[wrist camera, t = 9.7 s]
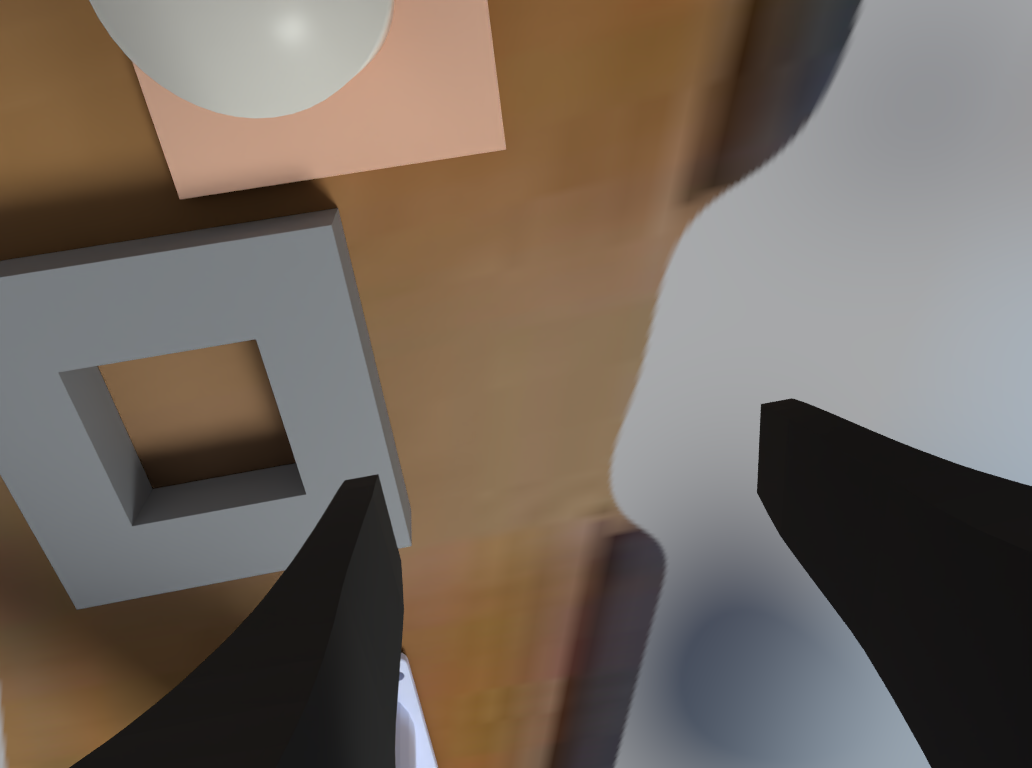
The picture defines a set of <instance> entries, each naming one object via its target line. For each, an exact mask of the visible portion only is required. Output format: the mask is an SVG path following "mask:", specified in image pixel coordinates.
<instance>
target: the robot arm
mask: <svg viewBox="0 0 1032 768" xmlns="http://www.w3.org/2000/svg"><path fill="white" fill-rule="evenodd" d="M757 493H758V495H759V497H760V499H761V501H762V503H763V505H764V507H765V509H766V511H767V513H768V515H769V516H770V518H771V520H772V522H773V523H774V525H775V527H776V529H777V531H778V532H779V534H780V536H781V537H782V538H783V540H784V542H785V543H786V544H787V546H788V547H789V548H790V550H791V551H792V552H793V554H794V555H795V557H796V558H797V559H798V561H799V562H800V564H801V565H802V566H803V568H804V569H805V570H806V572H807V573H808V574H809V576H810V577H811V578H812V580H813V581H814V582H815V584H816V585H817V586H818V588H819V589H820V590H821V592H822V593H823V594H824V596H825V597H826V598H827V600H828V601H829V602H830V604H831V605H832V606H833V608H834V609H835V610H836V612H837V613H838V614H839V616H840V617H841V618H842V620H843V621H844V622H845V624H846V625H847V626H848V628H849V629H850V630H851V632H852V633H853V635H854V636H855V638H856V639H857V640H858V642H859V643H860V645H861V646H862V648H863V649H864V651H865V652H866V654H867V656H868V657H869V659H870V661H871V662H872V664H873V666H874V667H875V669H876V670H877V672H878V674H879V676H880V677H881V679H882V681H883V682H884V684H885V686H886V687H887V689H888V691H889V692H890V694H891V696H892V698H893V699H894V701H895V703H896V705H897V706H898V708H899V710H900V712H901V713H902V715H903V717H904V719H905V721H906V722H907V724H908V726H909V728H910V729H911V731H912V733H913V735H914V737H915V738H916V740H917V742H918V744H919V745H920V747H921V749H922V751H923V753H924V755H925V756H926V758H927V760H928V762H929V764H930V766H931V768H1032V486H1029V485H1025V484H1021V483H1018V482H1014V481H1011V480H1008V479H1004V478H1001V477H997V476H994V475H991V474H987V473H984V472H980V471H977V470H974V469H971V468H968V467H965V466H962V465H959V464H956V463H953V462H951V461H948V460H945V459H942V458H939V457H937V456H934V455H931V454H929V453H926V452H923V451H920V450H918V449H915V448H912V447H910V446H908V445H905V444H903V443H900V442H898V441H895V440H893V439H890V438H888V437H886V436H883V435H881V434H878V433H876V432H873V431H871V430H869V429H867V428H864V427H862V426H860V425H857V424H855V423H853V422H850V421H848V420H846V419H843V418H841V417H839V416H836V415H834V414H831V413H829V412H827V411H824V410H822V409H820V408H817V407H815V406H812V405H810V404H807V403H804V402H802V401H798V400H795V399H787V400H781V401H776V402H770V403H765V404H761V418H760V439H759V463H758V484H757ZM403 615H404V604H403V584H402V568H401V559H400V555H399V551H398V547H397V543H396V540H395V536H394V532H393V528H392V524H391V521H390V517H389V513H388V509H387V505H386V501H385V498H384V494H383V490H382V486H381V482H380V479H379V475H378V474H376V475H371V476H365V477H360V478H355V479H349V480H345V481H344V482H343V483H342V485H341V486H340V487H339V489H338V491H337V492H336V494H335V496H334V497H333V499H332V501H331V502H330V504H329V505H328V507H327V509H326V510H325V512H324V514H323V515H322V517H321V518H320V520H319V522H318V523H317V525H316V526H315V528H314V529H313V531H312V532H311V534H310V535H309V537H308V538H307V540H306V541H305V543H304V544H303V546H302V547H301V549H300V550H299V552H298V553H297V555H296V556H295V558H294V559H293V560H292V562H291V563H290V565H289V566H288V567H287V569H286V570H285V571H284V573H283V574H282V575H281V576H280V578H279V579H278V580H277V582H276V583H275V584H274V586H273V587H272V588H271V590H270V591H269V592H268V594H267V595H266V596H265V597H264V599H263V600H262V601H261V602H260V603H259V605H258V606H257V607H256V608H255V609H254V610H253V612H252V613H251V614H250V615H249V616H248V617H247V618H246V619H245V620H244V621H243V622H242V624H241V625H240V626H239V627H238V628H237V629H236V630H235V631H234V632H233V633H232V634H231V635H230V636H229V637H228V638H227V639H226V640H225V641H224V642H223V643H222V644H221V645H220V646H219V647H218V648H217V649H216V650H215V651H214V652H213V653H212V654H211V655H210V656H209V657H208V658H206V659H205V660H204V661H203V662H202V663H201V664H200V665H199V666H198V667H197V668H196V669H195V670H194V671H193V672H192V673H191V674H189V675H188V676H187V677H186V678H185V679H184V680H183V681H182V682H181V683H180V684H179V685H177V686H176V687H175V688H174V689H173V690H171V691H170V692H169V693H168V694H167V695H166V696H164V697H163V698H162V699H161V700H160V701H158V702H157V703H156V704H155V705H154V706H152V707H151V708H150V709H148V710H147V711H146V712H145V713H143V714H142V715H141V716H140V717H138V718H137V719H136V720H135V721H133V722H132V723H131V724H130V725H128V726H127V727H126V728H124V729H123V730H122V731H120V732H119V733H118V734H116V735H115V736H114V737H112V738H111V739H110V740H108V741H107V742H105V743H104V744H102V745H101V746H100V747H98V748H97V749H95V750H94V751H92V752H91V753H90V754H88V755H87V756H85V757H84V758H82V759H81V760H80V761H78V762H77V763H75V764H74V765H72V766H71V767H70V768H438V765H437V761H436V758H435V754H434V751H433V747H432V744H431V740H430V736H429V733H428V729H427V726H426V722H425V719H424V715H423V711H422V708H421V704H420V701H419V697H418V694H417V690H416V686H415V683H414V679H413V676H412V672H411V669H410V665H409V661H408V658H407V656H406V655H405V654H403V653H401V646H402V631H403Z"/></svg>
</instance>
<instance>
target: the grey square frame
mask: <svg viewBox="0 0 1032 768" xmlns="http://www.w3.org/2000/svg"><path fill="white" fill-rule="evenodd" d="M254 339H256V341H257V344H258V347H259V350H260V353H261V356H262V359H263V362H264V365H265V369H266V372H267V375H268V378H269V381H270V384H271V387H272V390H273V393H274V396H275V399H276V402H277V405H278V409H279V412H280V415H281V418H282V421H283V424H284V427H285V430H286V433H287V436H288V439H289V442H290V445H291V448H292V452H293V455H294V458H295V461H296V463H294V464H289V465H283V466H278V467H272V468H267V469H261V470H256V471H250V472H245V473H239V474H233V475H228V476H222V477H217V478H211V479H206V480H200V481H195V482H189V483H184V484H178V485H172V486H167V487H161V488H156V489H152V487H151V484H150V482H149V480H148V478H147V475H146V473H145V471H144V469H143V467H142V464H141V462H140V460H139V458H138V455H137V453H136V451H135V449H134V447H133V444H132V442H131V440H130V438H129V435H128V433H127V431H126V429H125V427H124V424H123V422H122V420H121V418H120V415H119V413H118V411H117V409H116V407H115V404H114V402H113V400H112V398H111V395H110V393H109V391H108V389H107V387H106V384H105V382H104V380H103V378H102V375H101V373H100V371H99V369H98V367H97V366H99V365H105V364H111V363H117V362H123V361H129V360H135V359H141V358H147V357H153V356H159V355H165V354H171V353H177V352H183V351H188V350H194V349H200V348H206V347H212V346H218V345H224V344H230V343H236V342H242V341H248V340H254ZM376 474H378V475H379V479H380V482H381V486H382V490H383V494H384V498H385V501H386V505H387V509H388V513H389V517H390V521H391V524H392V528H393V532H394V536H395V540H396V543H397V547H398V548H404V547H409V546H412V544H411V508H410V503H409V499H408V495H407V491H406V487H405V483H404V479H403V475H402V470H401V466H400V462H399V458H398V454H397V450H396V446H395V442H394V437H393V433H392V429H391V425H390V421H389V417H388V413H387V409H386V404H385V400H384V396H383V392H382V388H381V384H380V380H379V376H378V371H377V367H376V363H375V359H374V355H373V351H372V347H371V342H370V338H369V334H368V330H367V326H366V322H365V318H364V314H363V309H362V305H361V301H360V297H359V293H358V289H357V285H356V281H355V276H354V272H353V268H352V264H351V260H350V256H349V252H348V248H347V243H346V239H345V235H344V231H343V227H342V223H341V219H340V215H339V210H338V208H335V209H329V210H322V211H316V212H310V213H303V214H297V215H290V216H284V217H278V218H271V219H265V220H259V221H252V222H246V223H239V224H233V225H227V226H220V227H214V228H207V229H201V230H195V231H188V232H182V233H176V234H169V235H163V236H156V237H150V238H144V239H137V240H131V241H124V242H118V243H112V244H105V245H99V246H92V247H86V248H80V249H73V250H67V251H61V252H54V253H48V254H41V255H35V256H29V257H22V258H16V259H9V260H3V261H0V475H1V477H2V479H3V480H4V482H5V484H6V486H7V487H8V489H9V491H10V493H11V494H12V496H13V498H14V500H15V501H16V503H17V505H18V507H19V508H20V510H21V512H22V514H23V516H24V517H25V519H26V521H27V523H28V524H29V526H30V528H31V530H32V531H33V533H34V535H35V537H36V538H37V540H38V542H39V544H40V545H41V547H42V549H43V551H44V553H45V554H46V556H47V558H48V560H49V561H50V563H51V565H52V567H53V568H54V570H55V572H56V574H57V575H58V577H59V579H60V581H61V582H62V584H63V586H64V588H65V590H66V591H67V593H68V595H69V597H70V598H71V600H72V602H73V604H74V605H75V607H76V609H77V610H78V609H83V608H88V607H94V606H99V605H104V604H109V603H115V602H120V601H125V600H130V599H136V598H141V597H146V596H151V595H157V594H162V593H167V592H172V591H178V590H183V589H188V588H193V587H199V586H204V585H209V584H214V583H220V582H225V581H230V580H235V579H241V578H246V577H251V576H256V575H262V574H267V573H272V572H277V571H283V570H286V569H287V567H288V566H289V565H290V563H291V562H292V560H293V559H294V558H295V556H296V555H297V553H298V552H299V550H300V549H301V547H302V546H303V544H304V543H305V541H306V540H307V538H308V537H309V535H310V534H311V532H312V531H313V529H314V528H315V526H316V525H317V523H318V522H319V520H320V518H321V517H322V515H323V514H324V512H325V510H326V509H327V507H328V505H329V504H330V502H331V501H332V499H333V497H334V496H335V494H336V492H337V491H338V489H339V487H340V486H341V485H342V483H343V482H344V481H345V480H349V479H355V478H360V477H365V476H371V475H376Z"/></svg>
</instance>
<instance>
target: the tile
mask: <svg viewBox="0 0 1032 768" xmlns="http://www.w3.org/2000/svg"><path fill="white" fill-rule="evenodd" d="M132 63H133V65H134V68H135V71H136V74H137V77H138V80H139V83H140V86H141V89H142V91H143V94H144V97H145V100H146V103H147V106H148V109H149V112H150V115H151V118H152V120H153V123H154V126H155V129H156V132H157V135H158V138H159V141H160V144H161V146H162V149H163V152H164V155H165V158H166V161H167V164H168V167H169V170H170V173H171V175H172V178H173V181H174V184H175V187H176V190H177V193H178V196H179V199H186V198H193V197H199V196H206V195H212V194H219V193H225V192H232V191H238V190H245V189H251V188H258V187H264V186H271V185H277V184H284V183H290V182H297V181H304V180H310V179H317V178H323V177H330V176H336V175H343V174H349V173H356V172H362V171H369V170H375V169H382V168H388V167H395V166H401V165H408V164H414V163H421V162H427V161H434V160H440V159H447V158H453V157H460V156H466V155H473V154H480V153H486V152H493V151H499V150H506V146H505V138H504V130H503V122H502V114H501V106H500V98H499V90H498V82H497V74H496V66H495V58H494V50H493V42H492V34H491V26H490V18H489V10H488V2H487V0H394V12H393V18H392V22H391V26H390V30H389V32H388V35H387V37H386V40H385V42H384V43H383V45H382V47H381V49H380V50H379V52H378V53H377V54H376V56H375V57H374V58H373V60H372V61H371V62H370V63H369V64H368V65H367V66H366V67H365V68H363V69H362V70H361V71H360V72H359V73H358V74H357V75H355V76H354V77H353V78H352V79H351V80H350V81H349V82H348V83H346V84H345V85H344V86H343V87H342V88H341V89H340V90H338V91H337V92H335V93H334V94H333V95H331V96H330V97H328V98H327V99H326V100H324V101H322V102H320V103H318V104H316V105H314V106H312V107H310V108H308V109H305V110H302V111H300V112H297V113H294V114H290V115H285V116H279V117H274V118H244V117H235V116H230V115H225V114H221V113H216V112H213V111H211V110H208V109H205V108H202V107H199V106H197V105H194V104H192V103H190V102H188V101H186V100H184V99H182V98H180V97H178V96H177V95H175V94H173V93H172V92H170V91H169V90H167V89H165V88H164V87H162V86H161V85H159V84H158V83H157V82H156V81H154V80H153V79H152V78H150V77H149V76H148V75H147V74H145V73H144V72H143V71H142V70H141V69H140V68H139V67H138V66H137V65H136V64H135V63H134V62H133V61H132Z"/></svg>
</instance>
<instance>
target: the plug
mask: <svg viewBox="0 0 1032 768" xmlns="http://www.w3.org/2000/svg"><path fill="white" fill-rule="evenodd" d="M89 1H90V3H91V5H92V7H93V9H94V10H95V12H96V14H97V16H98V18H99V19H100V21H101V22H102V24H103V25H104V27H105V28H106V30H107V31H108V33H109V34H110V36H111V37H112V39H113V40H114V41H115V42H116V43H117V45H118V46H119V47H120V48H121V49H122V51H123V52H124V53H125V54H126V55H127V56H128V57H129V58H130V59H131V60H132V61H133V62H134V63H135V64H136V65H137V66H138V67H139V68H140V69H141V70H142V71H143V72H144V73H145V74H147V75H148V76H149V77H150V78H152V79H153V80H154V81H156V82H157V83H158V84H159V85H161V86H162V87H164V88H165V89H167V90H169V91H170V92H172V93H173V94H175V95H177V96H178V97H180V98H182V99H184V100H186V101H188V102H190V103H192V104H194V105H197V106H199V107H202V108H205V109H208V110H211V111H213V112H216V113H221V114H225V115H230V116H235V117H244V118H274V117H279V116H285V115H290V114H294V113H297V112H300V111H302V110H305V109H308V108H310V107H312V106H314V105H316V104H318V103H320V102H322V101H324V100H326V99H327V98H328V97H330V96H331V95H333V94H334V93H335V92H337V91H338V90H340V89H341V88H342V87H343V86H344V85H345V84H346V83H348V82H349V81H350V80H351V79H352V78H353V77H354V76H355V75H357V74H358V73H359V72H360V71H361V70H362V69H363V68H365V67H366V66H367V65H368V64H369V63H370V62H371V61H372V60H373V58H374V57H375V56H376V54H377V53H378V52H379V50H380V49H381V47H382V45H383V43H384V42H385V40H386V37H387V35H388V32H389V30H390V26H391V22H392V18H393V12H394V0H89Z"/></svg>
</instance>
